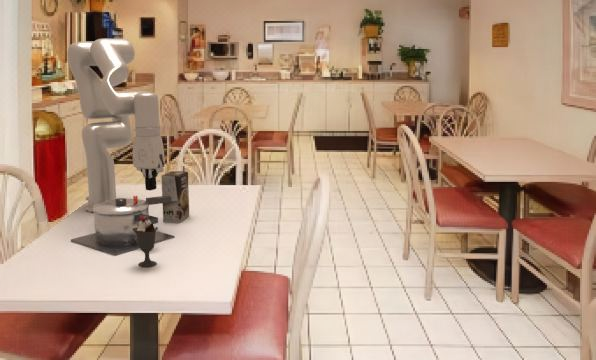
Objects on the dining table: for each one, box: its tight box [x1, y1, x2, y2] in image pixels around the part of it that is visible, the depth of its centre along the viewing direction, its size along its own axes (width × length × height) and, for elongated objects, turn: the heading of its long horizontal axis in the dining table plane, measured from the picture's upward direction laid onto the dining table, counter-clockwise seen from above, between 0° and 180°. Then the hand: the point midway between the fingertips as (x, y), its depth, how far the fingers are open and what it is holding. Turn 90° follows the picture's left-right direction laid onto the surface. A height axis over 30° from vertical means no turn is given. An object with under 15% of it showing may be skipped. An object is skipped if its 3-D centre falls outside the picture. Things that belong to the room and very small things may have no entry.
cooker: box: [70, 208, 175, 256], centre depth 188 cm, size 26×22×10 cm
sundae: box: [133, 210, 159, 268], centre depth 167 cm, size 7×7×15 cm
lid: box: [92, 195, 172, 215], centre depth 190 cm, size 24×16×3 cm
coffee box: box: [161, 170, 190, 224], centre depth 212 cm, size 9×6×16 cm
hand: (151, 189), depth 198 cm, fingers closed
